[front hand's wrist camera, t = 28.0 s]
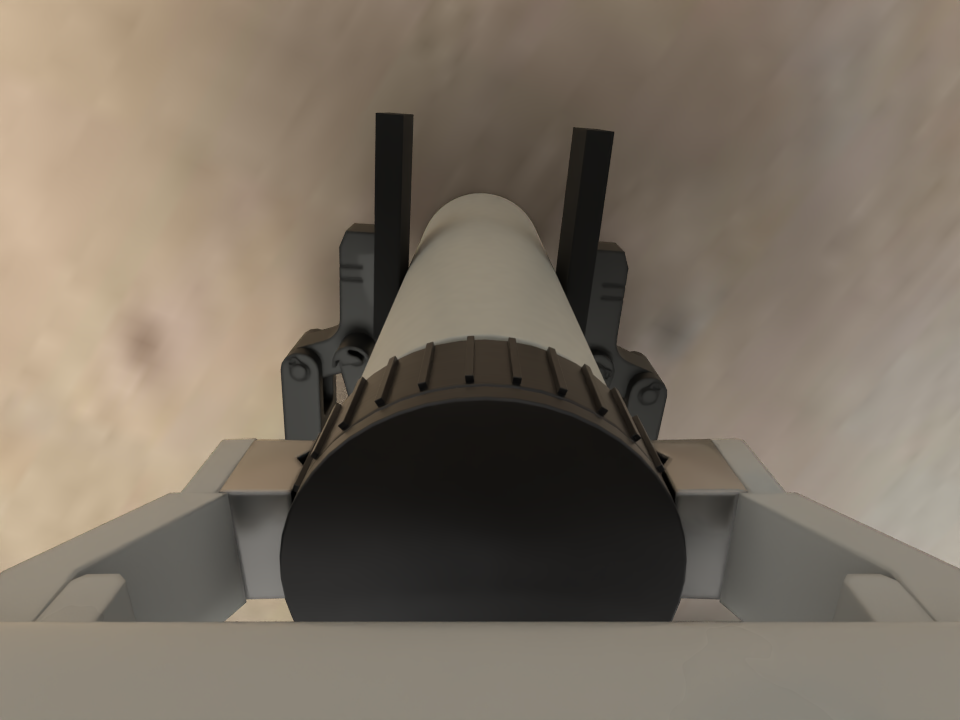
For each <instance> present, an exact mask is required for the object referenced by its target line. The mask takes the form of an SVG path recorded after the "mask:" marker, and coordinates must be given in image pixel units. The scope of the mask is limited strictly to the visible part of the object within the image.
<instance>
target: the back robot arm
mask: <svg viewBox="0 0 960 720" xmlns="http://www.w3.org/2000/svg"><path fill="white" fill-rule="evenodd" d="M613 138H614V132H612V131H606V130H599V129H588V128H575V127H573V135H572V143H571V152H570V160H569V168H568V176H567V185H566V193H565V201H564V209H563V217H562V226H561V234H560V242H559V250H558V259H557V267H556V275H557V277H558V280H559V282H560V284H561V286H562V289H563V291H564V293H565V295H566V297H567V300H568V302H569V304H570V306H571V308H572V311H573V313H574V315H575V317H576V319H577V322H578V324H579V326H580V328H581V331H582V333H583V335H584V337H585V339H586V342H587V344H588V346H589V348H590V350H591V353H592V355H593V357H594V359H595V361H596V364H597V366H598V368H599V370H600V373H601V375H602V377H603V379H604V381H605V384H606V386H607V387H608V388H609V389H610V390H611V389H612V388H614V387H615V388H616V389H617V390H618V391H619V393H620V395H621V397H622V399H623V401H624V403H625V405H626V407H627V409H628V411H629V413H630V415H631V417H633V416H635V415H637V416H638V418H639V419H640V421H641V423H642V425H643V427H644V429H645V431H646V433H647V435H648V437H649V439H650V440H657V439H658V434H659V430H660V425H661V421H662V416H663V412H664V407H665V403H666V398H667V389H666V387H665V385H664V383H663V382H662V380H661V379H660V377H659V376H658V374H657V373H656V371H655V370H654V368H653V367H652V365H651V364H650V362H649V361H648V359H647V358H646V357H645V356H644V355H643V354H642V353H639V352H636V351H631V352H629V351H627V350H625V349H623V348H620V347H619V346H617V345H616V343H617V334H618V328H619V322H620V316H621V310H622V304H623V298H624V292H625V285H626V280H627V273H628V265H627V261H626V256H625V252H624V251H623V250H622V249H621V248H620V247H619V246H618V245H617V244H616V243H611V242H599V235H600V228H601V221H602V214H603V207H604V200H605V193H606V186H607V179H608V172H609V165H610V159H611V152H612V145H613ZM412 143H413V115H411V114H399V113H376V140H375V225H372V224H359V223H354V224H353V225H352V226H351V227H350V228H349V229H348V230H346V232H345V234H344V237H343V239H342V242H341V244H340V247H339V259H340V324H339V325H337V326H334V327H331V328H328V329H324V330H321V329H311V330H309V331H307V332H306V333H305V334H304V335H303V336H302V337H301V339H300V340H299V341H298V342H297V344H296V345H295V346H294V347H293V349H292V350H291V351H290V352H289V354H288V355H287V356H286V358H285V359H284V361H283V362H282V365H281V381H282V397H283V412H284V427H285V440H316V438H317V436H318V434H319V433H321V432H322V430H323V428H324V426H325V424H326V422H327V420H328V418H329V415H330V413H331V411H332V409H333V407H334V406H335V404H336V403H337V399H336V374H339V373H342V376H343V379H344V383H345V386H346V390H347V393H348V397H349V396H350V395H351V394H352V392H353V390H354V388H355V386H356V383H357V381H358V380H359V379H360V378H361V377H362V375H363V372H364V370H365V368H366V365H367V363H368V361H369V358H370V356H371V354H372V352H373V349H374V347H375V345H376V342H377V340H378V338H379V335H380V333H381V331H382V328H383V326H384V324H385V322H386V319H387V317H388V315H389V312H390V310H391V308H392V305H393V303H394V301H395V298H396V296H397V294H398V292H399V289H400V287H401V285H402V282H403V280H404V278H405V275H406V273H407V271H408V267H409V236H410V205H411V174H412Z"/></svg>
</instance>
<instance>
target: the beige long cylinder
mask: <svg viewBox="0 0 960 720" xmlns="http://www.w3.org/2000/svg"><path fill="white" fill-rule="evenodd" d="M467 336H475V340H483V339H486V340H500V341H508V338H509V337H511V338H516V343H521V344H526V345H531V346H535V347H538V348H541V349H544V350H547V349H548V347H551V348H554V349H555V350H556V353H557V354H558V355H560V356H562V357H564V358H566V359H568V360H570V361H572V362H574V363H576V364H578V365H579V366H581V367H582V366H583V365H584V364H586V365H588V366H589V367H590V368H591V370H592V373H593V375H594V376H596V377H597V378H598V379H599V380H600V381H601V382H602V383H604V384H605V381H604V379H603V377H602V375H601V373H600V370H599V368H598V366H597V364H596V361H595V359H594V357H593V355H592V353H591V350H590V348H589V346H588V344H587V342H586V339H585V337H584V335H583V333H582V331H581V328H580V326H579V324H578V322H577V319H576V317H575V315H574V313H573V311H572V308H571V306H570V304H569V302H568V300H567V297H566V295H565V293H564V291H563V289H562V286H561V284H560V282H559V280H558V277H557V275H556V273H555V271H554V269H553V266H552V264H551V262H550V260H549V258H548V255H547V253H546V251H545V249H544V247H543V244H542V242H541V240H540V238H539V235H538V233H537V231H536V229H535V227H534V225H533V223H532V221H531V220H530V218H529V217H528V216H527V214H526V213H525V212H524V211H523V210H522V209H521V208H520V207H518V206H517V205H516V204H514V203H513V202H511V201H509V200H508V199H505V198H503V197H500V196H497V195H493V194H486V193H474V194H468V195H464V196H461V197H458V198H456V199H454V200H452V201H450V202H449V203H447V204H445V205H444V206H443V207H442V208H440V209H439V210H438V211H437V213H436V214H435V215H434V216H433V217H432V219H431V220H430V222H429V223H428V225H427V227H426V229H425V232H424V234H423V236H422V238H421V241H420V243H419V245H418V248H417V250H416V252H415V255H414V257H413V259H412V262H411V264H410V266H409V268H408V271H407V273H406V275H405V278H404V280H403V282H402V285H401V287H400V289H399V292H398V294H397V296H396V298H395V301H394V303H393V305H392V308H391V310H390V312H389V315H388V317H387V319H386V322H385V324H384V326H383V328H382V331H381V333H380V335H379V338H378V340H377V342H376V345H375V347H374V349H373V352H372V354H371V356H370V358H369V361H368V363H367V365H366V368H365V370H364V372H363V375H362V377H364V378H365V379H366V380H367V379H368V378H369V377H370V376H371V375H373V374H374V373H375V372H377V371H379V370H380V369H382V368H383V367H385V366H387V364H388V361H389V359H390V358H391V357H393V356H396V357H397V359H400V358H402V357H404V356H406V355H408V354H411V353H413V352H415V351H419V350H422V349H425V348H426V344H427V343H430V342H434V345H439V344H445V343H450V342H456V341H464V340H467ZM605 385H606V384H605Z"/></svg>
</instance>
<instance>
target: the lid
mask: <svg viewBox="0 0 960 720" xmlns="http://www.w3.org/2000/svg"><path fill="white" fill-rule="evenodd" d="M663 471H665V468H664V466H663V464H662V462H661V460H660V459H659V457H658V455H657V453H656V451H655V449H654V447H653V445H652V443H651V441H650V439H649V437H648V435H647V433H646V431H645V429H644V427H643V425H642V423H641V421H640V419H639V418H638V416H637V415H635V416H633V417H631V415H630V413H629V411H628V409H627V407H626V405H625V403H624V401H623V399H622V397H621V395H620V393H619V391H618V390H617V389H616V388H615V387H614V388H612V389H611V390H610V389H609V388H608V387H607V386H606V385H605V384H604V383H602V382H601V381H600V380H599V379H598V378H597V377H596V376H594V375H593V373H592V370H591V368H590V367H589V366H588V365H586V364H584V365H583V366H582V367H581V366H579V365H578V364H576V363H574V362H572V361H570V360H568V359H566V358H564V357H562V356H560V355H558V354H557V353H556V350H555V349H554V348H551V347H548V349H547V350H544V349H541V348H538V347H535V346H531V345H526V344H521V343H516V338H511V337H509V338H508V341H500V340H486V339H483V340H475V336H467V340H464V341H456V342H450V343H445V344H439V345H434V342H430V343H427V344H426V348H425V349H422V350H419V351H415V352H413V353H411V354H408V355H406V356H404V357H402V358H400V359H397V357H396V356H393V357H391V358H390V359H389V361H388V364H387V366H385V367H383V368H382V369H380V370H379V371H377V372H375V373H374V374H373V375H371V376H370V377H369V378H368V379H367V380H366V379H365V378H364V377H361V378H360V379H359V380H358V381H357V383H356V386H355V388H354V390H353V392H352V394H351V395H350V396H349V397H348V398H347V399H346V400H345V401H344V402H343V404H342V405H340V404H338V403H336V404H335V406H334V407H333V409H332V411H331V413H330V415H329V418H328V420H327V422H326V424H325V426H324V428H323V430H322V432H321V433H319V434H318V436H317V438H316V440H315V442H314V444H313V446H312V448H311V450H310V453H309V455H308V457H307V459H306V461H305V463H304V465H303V467H302V469H301V471H300V473H299V475H298V477H297V479H296V481H295V483H294V485H293V488H292V491H294V492H297V494H296V496H295V498H294V501H293V503H292V505H291V507H290V509H289V511H288V514H287V517H286V521H285V524H284V528H283V532H282V536H281V545H280V554H279V559H280V577H281V582H282V587H283V591H284V596H285V600H286V603H287V605H288V608H289V610H290V613H291V615H292V618H293V620H294V622H672V620H673V617H674V615H675V613H676V610H677V608H678V605H679V603H680V600H681V596H682V592H683V588H684V584H685V576H686V564H687V553H686V541H685V534H684V530H683V526H682V522H681V519H680V515H679V513H678V510H677V508H676V506H675V504H674V501H673V499H672V497H671V494H670V492H669V490H668V488H667V486H666V484H665V482H664V480H663V478H662V476H661V474H662V472H663Z"/></svg>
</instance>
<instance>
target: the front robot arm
mask: <svg viewBox="0 0 960 720" xmlns="http://www.w3.org/2000/svg"><path fill="white" fill-rule="evenodd" d="M650 441H651V443H652V445H653V447H654V449H655V451H656V453H657V455H658V457H659V459H660V460H661V462H662V464H663V466H664V468H665V471H663V472H662V474H661V476H662V478H663V480H664V482H665V484H666V486H667V488H668V490H669V492H670V494H671V497H672V499H673V501H674V504H675V506H676V508H677V510H678V513H679V515H680V519H681V522H682V526H683V530H684V534H685V541H686V553H687V564H686V576H685V584H684V588H683V592H682V596H681V598H693V599H720V602H721V603H722V604H723V605H724V606H725V607H726V608H728V609H729V610H730V611H731V612H732V613H733V614H735V615H736V616H737V617H738V618H739V619H740V620H741V621H743V622H224V621H225V620H226V619H228V618H229V617H230V616H231V615H232V614H233V613H234V612H236V611H237V610H238V609H239V608H240V607H241V606H243V605H244V604H245V603H246V599H272V598H285V596H284V591H283V587H282V582H281V577H280V559H279V554H280V545H281V536H282V532H283V528H284V524H285V521H286V517H287V514H288V511H289V509H290V507H291V505H292V503H293V501H294V498H295V496H296V494H297V492H294V491H292V488H293V485H294V483H295V481H296V479H297V477H298V475H299V473H300V471H301V469H302V467H303V465H304V463H305V461H306V459H307V457H308V455H309V453H310V450H311V448H312V446H313V444H314V442H315V440H280V439H258V440H257V439H256V438H252V439H226V440H222V441H221V442H220V444H219V445H218V446H217V447H216V449H215V450H214V451H213V452H212V454H211V455H210V456H209V457H208V459H207V460H206V461H205V462H204V464H203V465H202V466H201V467H200V469H199V470H198V471H197V473H196V474H195V475H194V476H193V478H192V479H191V480H190V481H189V483H188V484H187V485H186V486H185V488H184V489H183V490H182V491H181V493H169V494H167V495H165V496H162V497H160V498H158V499H156V500H154V501H152V502H150V503H147V504H145V505H143V506H141V507H139V508H137V509H135V510H133V511H130V512H128V513H126V514H124V515H122V516H120V517H118V518H115V519H113V520H111V521H109V522H107V523H105V524H103V525H101V526H98V527H96V528H94V529H92V530H90V531H88V532H86V533H83V534H81V535H79V536H77V537H75V538H73V539H71V540H68V541H66V542H64V543H62V544H60V545H58V546H56V547H54V548H51V549H49V550H47V551H45V552H43V553H41V554H39V555H36V556H34V557H32V558H30V559H28V560H26V561H24V562H22V563H19V564H17V565H15V566H13V567H11V568H9V569H7V570H4V571H2V572H1V573H0V720H960V569H959V568H957V567H955V566H953V565H950V564H948V563H946V562H944V561H942V560H940V559H938V558H935V557H933V556H931V555H929V554H927V553H925V552H923V551H920V550H918V549H916V548H914V547H912V546H910V545H908V544H905V543H903V542H901V541H899V540H897V539H895V538H892V537H890V536H888V535H886V534H884V533H882V532H880V531H877V530H875V529H873V528H871V527H869V526H867V525H865V524H862V523H860V522H858V521H856V520H854V519H852V518H850V517H847V516H845V515H843V514H841V513H839V512H837V511H834V510H832V509H830V508H828V507H826V506H824V505H822V504H819V503H817V502H815V501H813V500H811V499H809V498H807V497H804V496H802V495H800V494H798V493H786V492H785V491H784V489H783V488H782V487H781V486H780V484H779V483H778V482H777V481H776V480H775V478H774V477H773V476H772V475H771V473H770V472H769V471H768V470H767V469H766V467H765V466H764V465H763V464H762V462H761V461H760V460H759V459H758V457H757V456H756V455H755V454H754V453H753V451H752V450H751V449H750V448H749V446H748V445H747V444H746V443H745V441H743V440H741V439H738V438H733V439H688V440H650Z"/></svg>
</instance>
